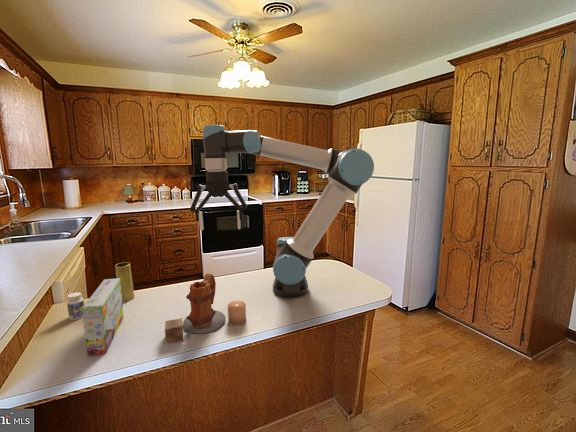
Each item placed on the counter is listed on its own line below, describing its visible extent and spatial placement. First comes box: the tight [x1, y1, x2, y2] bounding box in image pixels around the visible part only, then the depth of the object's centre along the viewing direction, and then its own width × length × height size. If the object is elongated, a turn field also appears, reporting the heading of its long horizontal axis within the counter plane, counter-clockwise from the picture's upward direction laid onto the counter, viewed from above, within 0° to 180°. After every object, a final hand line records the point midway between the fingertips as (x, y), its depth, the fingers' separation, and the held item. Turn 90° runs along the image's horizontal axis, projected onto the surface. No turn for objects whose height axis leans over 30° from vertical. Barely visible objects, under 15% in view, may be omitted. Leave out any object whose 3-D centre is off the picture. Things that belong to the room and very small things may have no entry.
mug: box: [185, 273, 217, 328], centre depth 102 cm, size 15×8×15 cm, turn 169°
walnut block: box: [164, 317, 184, 345], centre depth 94 cm, size 5×5×5 cm
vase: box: [114, 261, 135, 303], centre depth 119 cm, size 6×6×14 cm
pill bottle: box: [66, 291, 85, 321], centre depth 106 cm, size 5×5×8 cm
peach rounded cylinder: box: [227, 300, 247, 326], centre depth 104 cm, size 6×6×6 cm
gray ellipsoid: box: [182, 309, 226, 335], centre depth 103 cm, size 14×14×1 cm
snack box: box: [82, 277, 125, 357], centre depth 95 cm, size 21×6×15 cm, turn 17°
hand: (220, 229), depth 110 cm, fingers open, 13 cm apart
